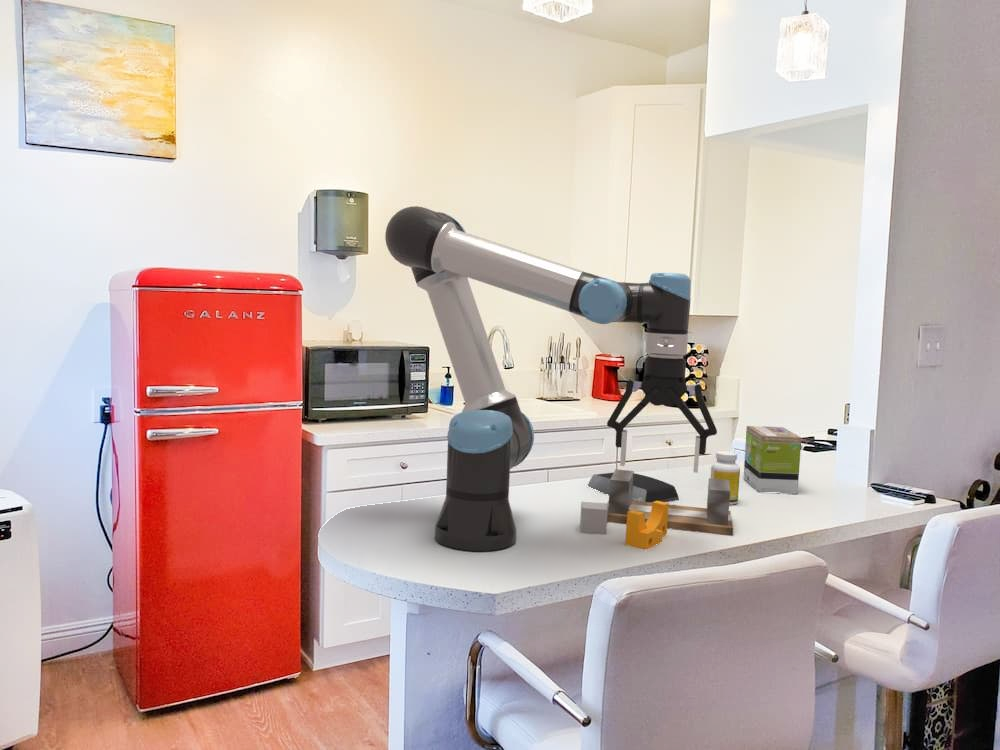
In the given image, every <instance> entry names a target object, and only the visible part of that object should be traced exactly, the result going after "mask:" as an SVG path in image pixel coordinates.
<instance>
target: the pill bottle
mask: <svg viewBox="0 0 1000 750" xmlns="http://www.w3.org/2000/svg"><path fill="white" fill-rule="evenodd" d="M715 459H716V461H715V462H713V463H712V464H711V467H710V478H712V479H722V480H728V481H729V487H730V503H729V506H732V505H735V504H737V503H738V501H739V490H740V477H741V467H740V466H739V465H738V464H737V463H736V461H737V460H738V453H736V452H734V451H726V450H725V451H724V450H718V451H716V452H715Z"/></svg>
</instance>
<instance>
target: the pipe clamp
mask: <svg viewBox="0 0 1000 750" xmlns="http://www.w3.org/2000/svg"><path fill="white" fill-rule="evenodd" d="M669 505H670V502H661V501H655V502H652V509H651V513H650V515H649V518H648V520H647V522H646V523H645V513H644V512H639V511H635V510H631V511H628V512H627V524H626V526H625V527H626V528H625V529H626V531H625V542H624V545H625V546H629V547H633V548H637V549H642V550H645V549H647V550H649V549H651V548H653V547H655V546H657V545H656V544H658V543H660V542H663V537H664V536H666V535H665V534H667V533H668V528H667V521H668V508H669ZM663 535H664V536H663ZM660 544H661V543H660ZM654 545H655V546H654ZM658 545H659V544H658ZM652 546H653V547H652ZM650 547H651V548H650ZM648 548H649V549H648Z"/></svg>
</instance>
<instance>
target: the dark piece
mask: <svg viewBox="0 0 1000 750" xmlns="http://www.w3.org/2000/svg"><path fill="white" fill-rule="evenodd" d="M613 473H614V471H613V472H607V473H598V474H593V475H592V477H591V478H590V480H589V482H588V484H587V486H589V487H591V488H593V489H596V490H598V491H600V492H599V493H601V492H603V493H602V494H604V493H605V494H604V495H606V494H608V495H607V496H609V490H610V479H611V477H612V475H613ZM593 489H592V490H593ZM598 491H597V492H598ZM675 500H678V501H679V500H680V499H679V493H678V492H677V489H676V487H675V486H674V485H673V484H670V483H668V482H666V481H662V480H660V479H656V478H654V477H650V476H647V475H644V474H639V473H635V472H634V475H633V491H632V501H640V502H650V503H652V502H655V501H661V502H666V503H670V502H669V501H671V502H676V501H675Z"/></svg>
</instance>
